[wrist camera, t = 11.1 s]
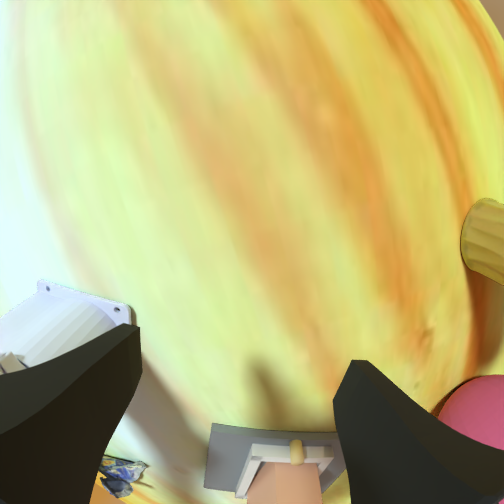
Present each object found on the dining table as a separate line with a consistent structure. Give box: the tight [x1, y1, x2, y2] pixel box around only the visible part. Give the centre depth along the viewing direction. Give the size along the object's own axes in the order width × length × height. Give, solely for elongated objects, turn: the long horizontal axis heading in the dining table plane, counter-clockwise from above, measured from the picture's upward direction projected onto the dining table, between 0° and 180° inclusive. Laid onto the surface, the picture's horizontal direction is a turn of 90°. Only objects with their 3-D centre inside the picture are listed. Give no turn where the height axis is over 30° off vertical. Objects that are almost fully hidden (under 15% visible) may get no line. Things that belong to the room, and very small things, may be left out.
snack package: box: [98, 455, 147, 498], centre depth 25 cm, size 12×7×12 cm
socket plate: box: [204, 423, 346, 499], centre depth 22 cm, size 16×15×4 cm
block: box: [247, 462, 323, 504], centre depth 20 cm, size 9×4×7 cm, turn 162°
